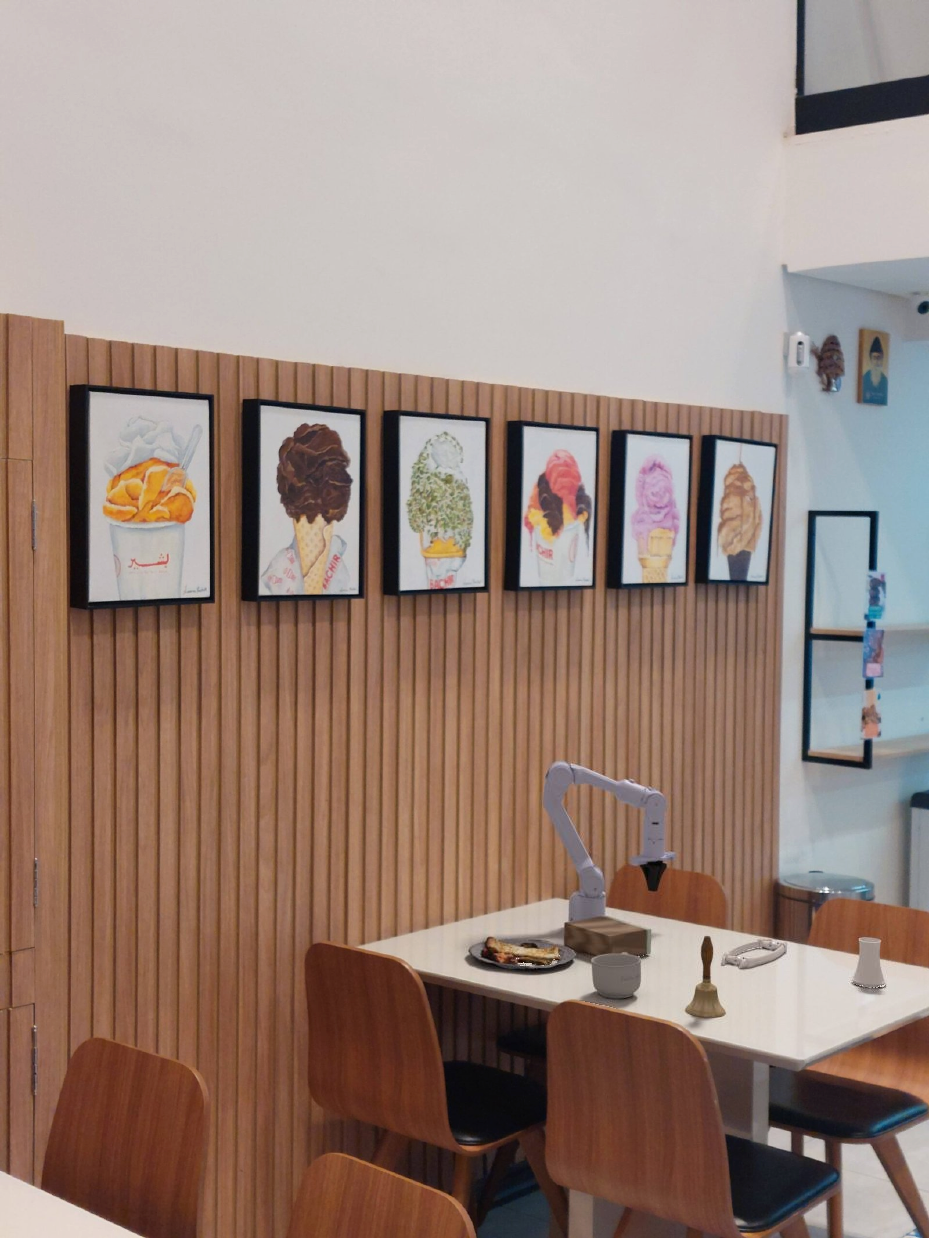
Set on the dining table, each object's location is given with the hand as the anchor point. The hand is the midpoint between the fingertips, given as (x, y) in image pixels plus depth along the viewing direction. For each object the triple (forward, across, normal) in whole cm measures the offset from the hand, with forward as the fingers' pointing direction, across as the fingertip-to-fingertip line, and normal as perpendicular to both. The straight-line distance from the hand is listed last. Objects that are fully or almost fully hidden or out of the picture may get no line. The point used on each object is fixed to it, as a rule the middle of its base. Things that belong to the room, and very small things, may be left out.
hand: (652, 890), depth 368 cm
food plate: (+11, -46, -3) cm, 47 cm away
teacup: (+11, -46, -36) cm, 59 cm away
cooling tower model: (+11, +7, -62) cm, 63 cm away
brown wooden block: (+10, -25, -9) cm, 29 cm away
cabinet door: (+10, -18, -9) cm, 22 cm away
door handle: (+11, +3, -32) cm, 34 cm away
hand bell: (+11, -40, -56) cm, 70 cm away
